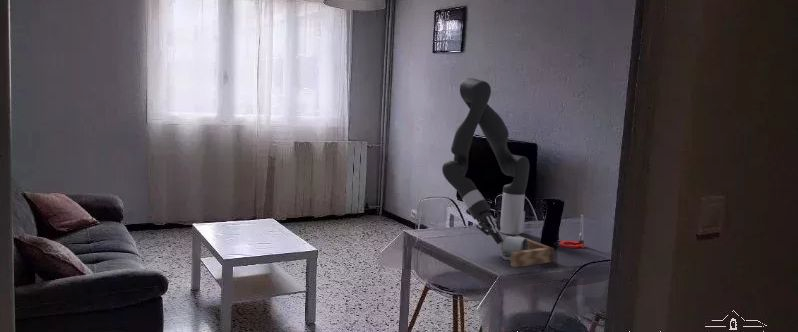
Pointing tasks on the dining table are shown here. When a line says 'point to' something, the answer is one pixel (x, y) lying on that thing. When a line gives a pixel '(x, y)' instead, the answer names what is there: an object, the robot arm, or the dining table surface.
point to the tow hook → (578, 244)
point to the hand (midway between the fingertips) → (500, 242)
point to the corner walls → (532, 254)
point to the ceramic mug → (513, 246)
